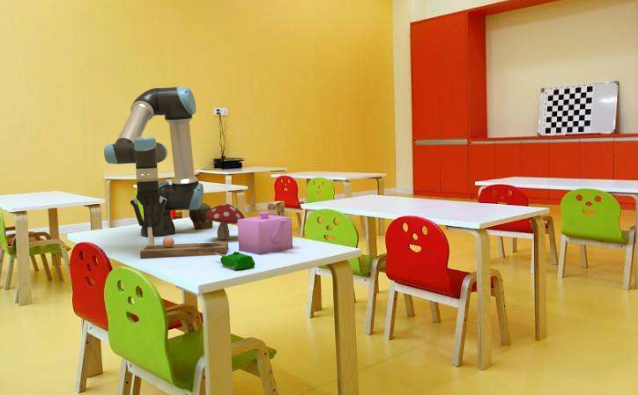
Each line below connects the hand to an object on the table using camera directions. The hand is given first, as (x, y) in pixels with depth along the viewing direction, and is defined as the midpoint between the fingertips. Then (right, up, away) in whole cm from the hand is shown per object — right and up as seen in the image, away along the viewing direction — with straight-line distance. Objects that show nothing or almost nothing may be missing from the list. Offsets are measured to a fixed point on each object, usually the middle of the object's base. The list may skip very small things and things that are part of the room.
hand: (151, 244), depth 210 cm
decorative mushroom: (+23, 0, +28) cm, 36 cm away
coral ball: (+6, +1, +1) cm, 6 cm away
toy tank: (+32, -5, -21) cm, 39 cm away
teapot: (+42, -2, +3) cm, 42 cm away
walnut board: (+12, -3, +1) cm, 13 cm away
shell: (+5, +2, +64) cm, 64 cm away
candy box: (+44, 0, +25) cm, 51 cm away
